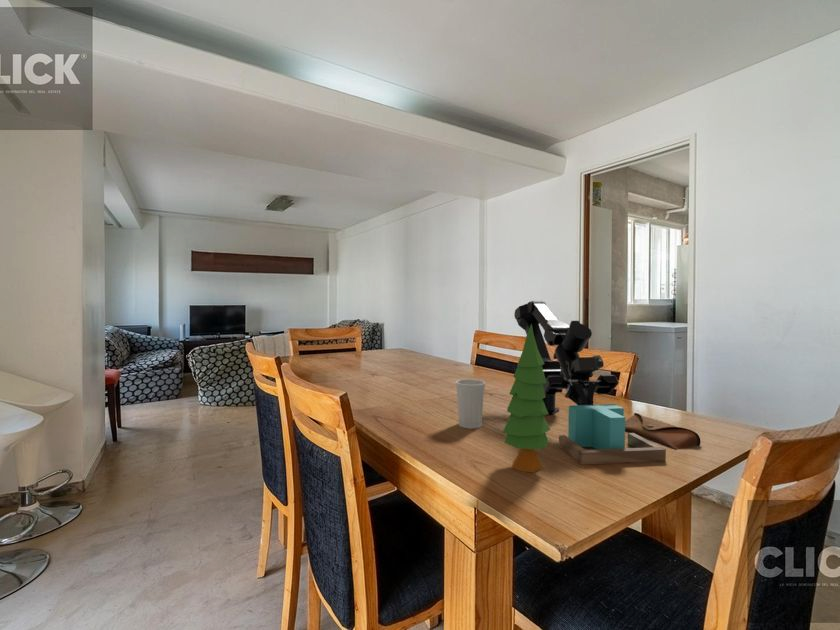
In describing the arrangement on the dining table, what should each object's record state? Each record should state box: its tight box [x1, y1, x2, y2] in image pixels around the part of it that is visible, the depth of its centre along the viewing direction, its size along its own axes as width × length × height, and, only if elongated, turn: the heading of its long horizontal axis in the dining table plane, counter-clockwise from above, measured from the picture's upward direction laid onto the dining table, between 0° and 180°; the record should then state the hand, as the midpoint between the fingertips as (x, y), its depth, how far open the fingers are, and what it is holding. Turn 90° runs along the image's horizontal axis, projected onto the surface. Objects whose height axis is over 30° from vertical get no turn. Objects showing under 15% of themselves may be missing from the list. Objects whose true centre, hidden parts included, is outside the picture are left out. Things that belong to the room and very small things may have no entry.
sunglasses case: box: [625, 412, 701, 451], centre depth 101 cm, size 18×7×7 cm, turn 23°
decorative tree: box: [502, 323, 551, 473], centre depth 82 cm, size 10×9×30 cm
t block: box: [567, 403, 626, 450], centre depth 92 cm, size 10×12×9 cm
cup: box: [455, 378, 486, 430], centre depth 109 cm, size 8×8×12 cm
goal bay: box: [558, 432, 667, 466], centre depth 90 cm, size 11×19×2 cm, turn 96°
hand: (591, 414), depth 97 cm, fingers closed, pressing on t block
